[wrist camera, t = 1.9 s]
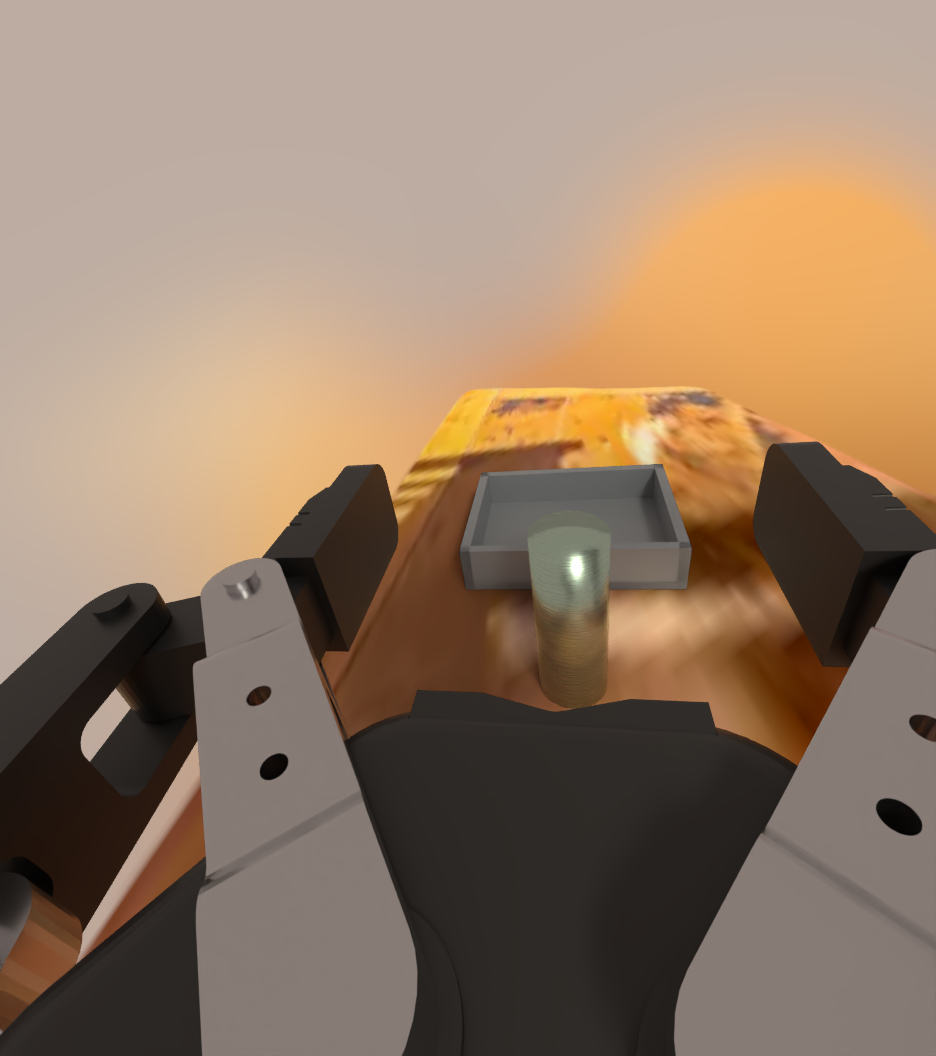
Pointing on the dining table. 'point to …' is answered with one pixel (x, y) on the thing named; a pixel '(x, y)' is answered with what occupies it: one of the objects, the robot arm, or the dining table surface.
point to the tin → (571, 605)
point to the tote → (608, 492)
